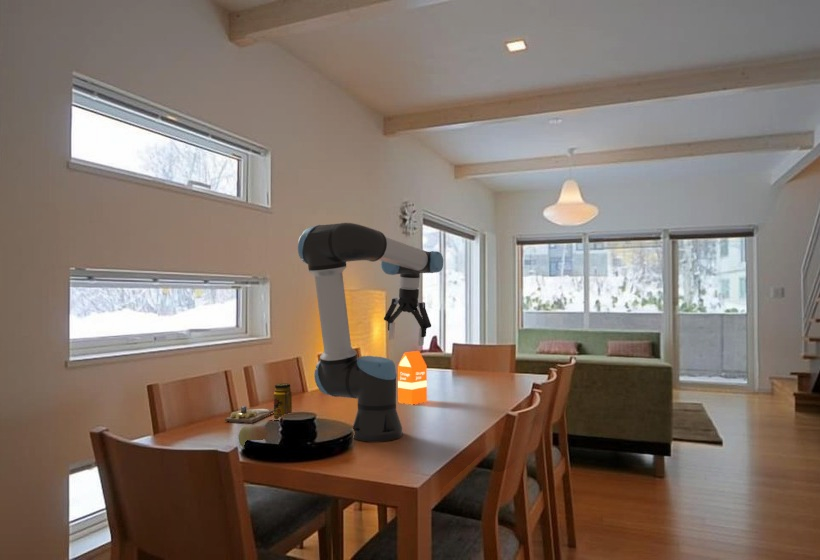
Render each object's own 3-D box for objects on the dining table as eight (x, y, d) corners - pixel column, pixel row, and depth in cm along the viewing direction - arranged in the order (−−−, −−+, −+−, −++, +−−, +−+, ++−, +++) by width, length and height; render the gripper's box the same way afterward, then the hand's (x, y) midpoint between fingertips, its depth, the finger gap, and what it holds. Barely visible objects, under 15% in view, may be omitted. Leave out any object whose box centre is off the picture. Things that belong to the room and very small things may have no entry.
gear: (248, 419, 183) (248, 409, 183) (225, 418, 185) (225, 409, 185) (261, 414, 191) (261, 404, 191) (239, 413, 193) (239, 404, 193)
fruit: (243, 454, 146) (243, 424, 147) (235, 448, 152) (235, 419, 153) (271, 449, 150) (270, 420, 151) (262, 443, 157) (262, 415, 157)
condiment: (268, 420, 187) (268, 385, 187) (283, 415, 195) (282, 381, 195) (286, 422, 184) (286, 386, 184) (300, 416, 192) (300, 382, 192)
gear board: (252, 423, 182) (251, 419, 182) (225, 422, 185) (225, 417, 185) (274, 413, 198) (274, 409, 198) (249, 412, 200) (249, 408, 200)
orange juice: (427, 401, 217) (426, 351, 217) (412, 405, 210) (411, 353, 211) (413, 399, 222) (412, 350, 223) (397, 402, 216) (397, 352, 216)
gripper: (442, 291, 206) (438, 346, 208) (387, 283, 219) (385, 335, 221) (432, 292, 199) (428, 349, 202) (377, 284, 212) (374, 338, 215)
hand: (405, 342), depth 212 cm, fingers open, 13 cm apart
